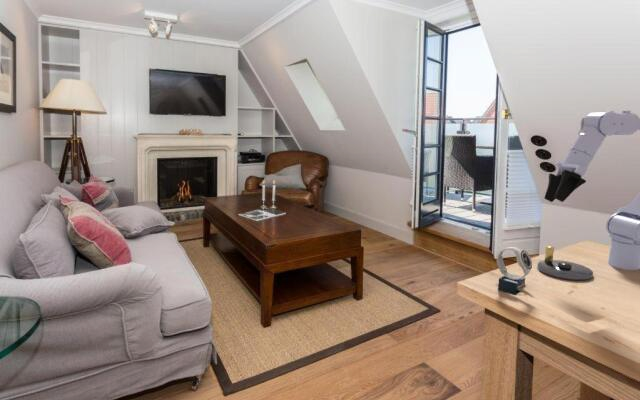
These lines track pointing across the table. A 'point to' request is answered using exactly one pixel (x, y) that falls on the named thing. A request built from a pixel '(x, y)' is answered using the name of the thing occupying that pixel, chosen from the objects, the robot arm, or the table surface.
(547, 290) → the table surface
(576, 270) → the handwheel
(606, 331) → the table surface
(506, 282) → the watch
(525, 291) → the table surface
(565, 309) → the table surface
